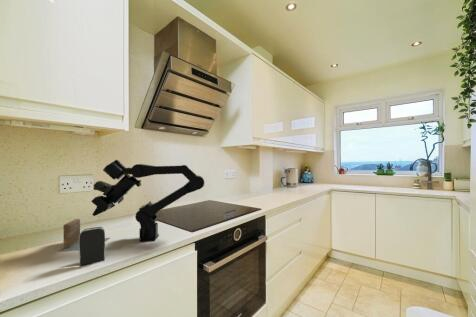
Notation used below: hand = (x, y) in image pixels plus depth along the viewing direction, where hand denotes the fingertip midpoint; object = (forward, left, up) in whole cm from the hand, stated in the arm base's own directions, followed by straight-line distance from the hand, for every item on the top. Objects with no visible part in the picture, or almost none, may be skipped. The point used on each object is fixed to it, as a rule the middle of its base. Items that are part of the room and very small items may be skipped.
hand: (93, 215), depth 85 cm
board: (+8, +1, -11) cm, 14 cm away
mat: (+2, +1, -12) cm, 12 cm away
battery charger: (-9, +17, -12) cm, 23 cm away
